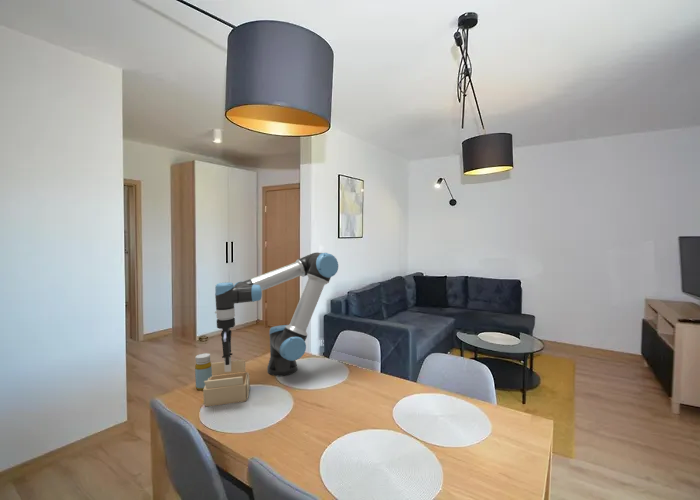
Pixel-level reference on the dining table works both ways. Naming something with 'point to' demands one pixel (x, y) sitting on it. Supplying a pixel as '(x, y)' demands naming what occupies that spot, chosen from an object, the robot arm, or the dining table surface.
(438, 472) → the dining table surface
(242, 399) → the carton
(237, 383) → the front flap
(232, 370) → the back flap
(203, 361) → the bottle
